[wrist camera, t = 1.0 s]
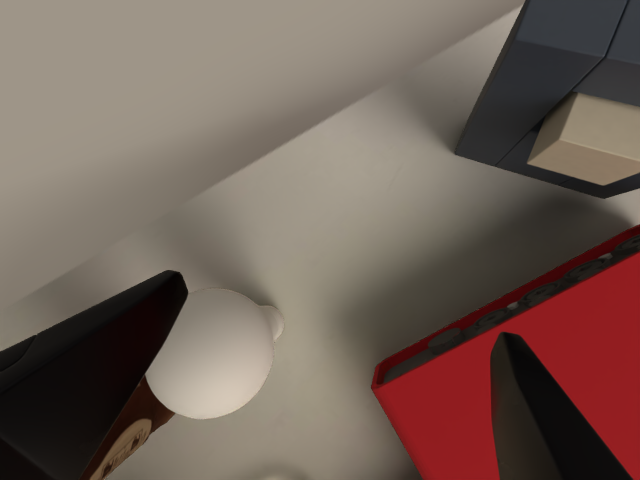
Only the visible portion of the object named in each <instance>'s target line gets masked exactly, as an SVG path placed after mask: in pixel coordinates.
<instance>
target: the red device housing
mask: <svg viewBox="0 0 640 480" xmlns="http://www.w3.org/2000/svg"><path fill="white" fill-rule="evenodd" d="M503 331H504V332H510V333H515V334H519V335H520V336H521V337H522V338H523V339H524V340H525V341H526V343H527V344H528V345H529V347H530V348H531V349H532V350H533V352H534V353H535V354H536V355H537V357H538V358H539V359H540V361H541V362H542V363H543V364H544V366H545V367H546V368H547V370H548V371H549V372H550V373H551V375H552V376H553V377H554V379H555V380H556V381H557V382H558V384H559V385H560V386H561V387H562V389H563V390H564V391H565V393H566V394H567V395H568V396H569V398H570V399H571V400H572V402H573V403H574V404H575V405H576V407H577V408H578V409H579V410H580V412H581V413H582V414H583V416H584V417H585V418H586V419H587V421H588V422H589V423H590V425H591V426H592V427H593V428H594V430H595V431H596V432H597V433H598V435H599V436H600V437H601V439H602V440H603V441H604V442H605V444H606V445H607V446H608V448H609V449H610V450H611V451H612V453H613V454H614V455H615V456H616V458H617V459H618V460H619V462H620V463H621V464H622V465H623V467H624V468H625V469H626V471H627V472H628V473H629V474H630V476H631V477H632V478H633V480H640V225H637V226H635V227H632V228H630V229H628V230H626V231H624V232H622V233H620V234H618V235H617V236H615V237H613V238H611V239H609V240H607V241H605V242H604V243H602V244H600V245H598V246H596V247H594V248H592V249H590V250H589V251H587V252H585V253H583V254H581V255H579V256H577V257H576V258H574V259H572V260H570V261H568V262H566V263H564V264H562V265H561V266H559V267H557V268H555V269H553V270H551V271H549V272H547V273H546V274H544V275H542V276H540V277H538V278H536V279H534V280H533V281H531V282H529V283H527V284H525V285H523V286H521V287H519V288H518V289H516V290H514V291H512V292H510V293H508V294H506V295H505V296H503V297H501V298H499V299H497V300H495V301H493V302H491V303H490V304H488V305H486V306H484V307H482V308H480V309H478V310H476V311H475V312H473V313H471V314H469V315H467V316H465V317H463V318H462V319H460V320H458V321H456V322H454V323H452V324H450V325H448V326H447V327H445V328H443V329H441V330H439V331H437V332H435V333H434V334H432V335H430V336H428V337H426V338H424V339H422V340H420V341H419V342H417V343H415V344H413V345H411V346H409V347H407V348H405V349H404V350H402V351H400V352H398V353H396V354H394V355H392V356H391V357H389V358H387V359H385V360H383V361H382V362H381V363H379V364H378V365H377V366H376V368H375V372H374V376H373V381H372V385H371V389H372V391H373V392H374V394H375V396H376V398H377V399H378V401H379V403H380V405H381V406H382V408H383V410H384V412H385V413H386V415H387V417H388V419H389V420H390V422H391V424H392V426H393V427H394V429H395V431H396V433H397V434H398V436H399V438H400V440H401V441H402V443H403V445H404V447H405V449H406V450H407V452H408V454H409V456H410V457H411V459H412V461H413V463H414V464H415V466H416V468H417V470H418V471H419V473H420V475H421V477H422V478H423V480H500V478H499V471H498V464H497V457H496V450H495V443H494V436H493V429H492V418H491V383H490V355H491V351H492V349H493V346H494V344H495V342H496V340H497V337H498V335H499V334H500V332H503Z"/></svg>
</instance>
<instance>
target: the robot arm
mask: <svg viewBox="0 0 640 480" xmlns="http://www.w3.org/2000/svg"><path fill="white" fill-rule="evenodd" d="M187 297H188V289H187V287H186V284H185V281H184V279H183V276H182V274H181V273H180V272H177V271H172V270H166V271H164V272H162V273H160V274H158V275H156V276H154V277H152V278H150V279H148V280H146V281H144V282H142V283H139V284H137V285H135V286H133V287H131V288H129V289H127V290H125V291H123V292H121V293H119V294H117V295H115V296H113V297H111V298H109V299H107V300H105V301H103V302H101V303H99V304H97V305H95V306H93V307H91V308H89V309H87V310H85V311H83V312H81V313H79V314H76V315H74V316H72V317H70V318H68V319H66V320H64V321H62V322H60V323H58V324H56V325H54V326H52V327H50V328H48V329H46V330H44V331H42V332H40V333H38V334H37V335H34V336H32V337H30V338H28V339H26V340H24V341H22V342H20V343H17V344H15V345H13V346H11V347H9V348H7V349H5V350H3V351H1V352H0V480H79V479H80V477H81V475H82V474H83V472H84V471H85V469H86V468H87V466H88V464H89V463H90V461H91V460H92V458H93V456H94V455H95V453H96V452H97V450H98V448H99V447H100V445H101V444H102V442H103V440H104V439H105V437H106V436H107V434H108V432H109V431H110V429H111V428H112V426H113V424H114V423H115V421H116V420H117V418H118V417H119V415H120V413H121V412H122V410H123V409H124V407H125V405H126V404H127V402H128V401H129V399H130V397H131V396H132V394H133V393H134V391H135V389H136V388H137V386H138V385H139V383H140V381H141V380H142V378H143V377H144V375H145V373H146V372H147V370H148V369H149V367H150V366H151V364H152V362H153V361H154V359H155V358H156V356H157V354H158V353H159V351H160V350H161V348H162V346H163V345H164V343H165V341H166V339H167V337H168V336H169V334H170V332H171V330H172V328H173V326H174V324H175V322H176V320H177V318H178V316H179V314H180V312H181V310H182V308H183V306H184V304H185V302H186V300H187ZM490 383H491V418H492V429H493V436H494V443H495V450H496V457H497V464H498V471H499V478H500V480H633V478H632V477H631V476H630V474H629V473H628V472H627V471H626V469H625V468H624V467H623V465H622V464H621V463H620V462H619V460H618V459H617V458H616V456H615V455H614V454H613V453H612V451H611V450H610V449H609V448H608V446H607V445H606V444H605V442H604V441H603V440H602V439H601V437H600V436H599V435H598V433H597V432H596V431H595V430H594V428H593V427H592V426H591V425H590V423H589V422H588V421H587V419H586V418H585V417H584V416H583V414H582V413H581V412H580V410H579V409H578V408H577V407H576V405H575V404H574V403H573V402H572V400H571V399H570V398H569V396H568V395H567V394H566V393H565V391H564V390H563V389H562V387H561V386H560V385H559V384H558V382H557V381H556V380H555V379H554V377H553V376H552V375H551V373H550V372H549V371H548V370H547V368H546V367H545V366H544V364H543V363H542V362H541V361H540V359H539V358H538V357H537V355H536V354H535V353H534V352H533V350H532V349H531V348H530V347H529V345H528V344H527V343H526V341H525V340H524V339H523V338H522V337H521V336H520V335H519V334H515V333H510V332H504V331H503V332H500V334H499V335H498V337H497V340H496V342H495V344H494V346H493V349H492V351H491V355H490Z"/></svg>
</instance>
